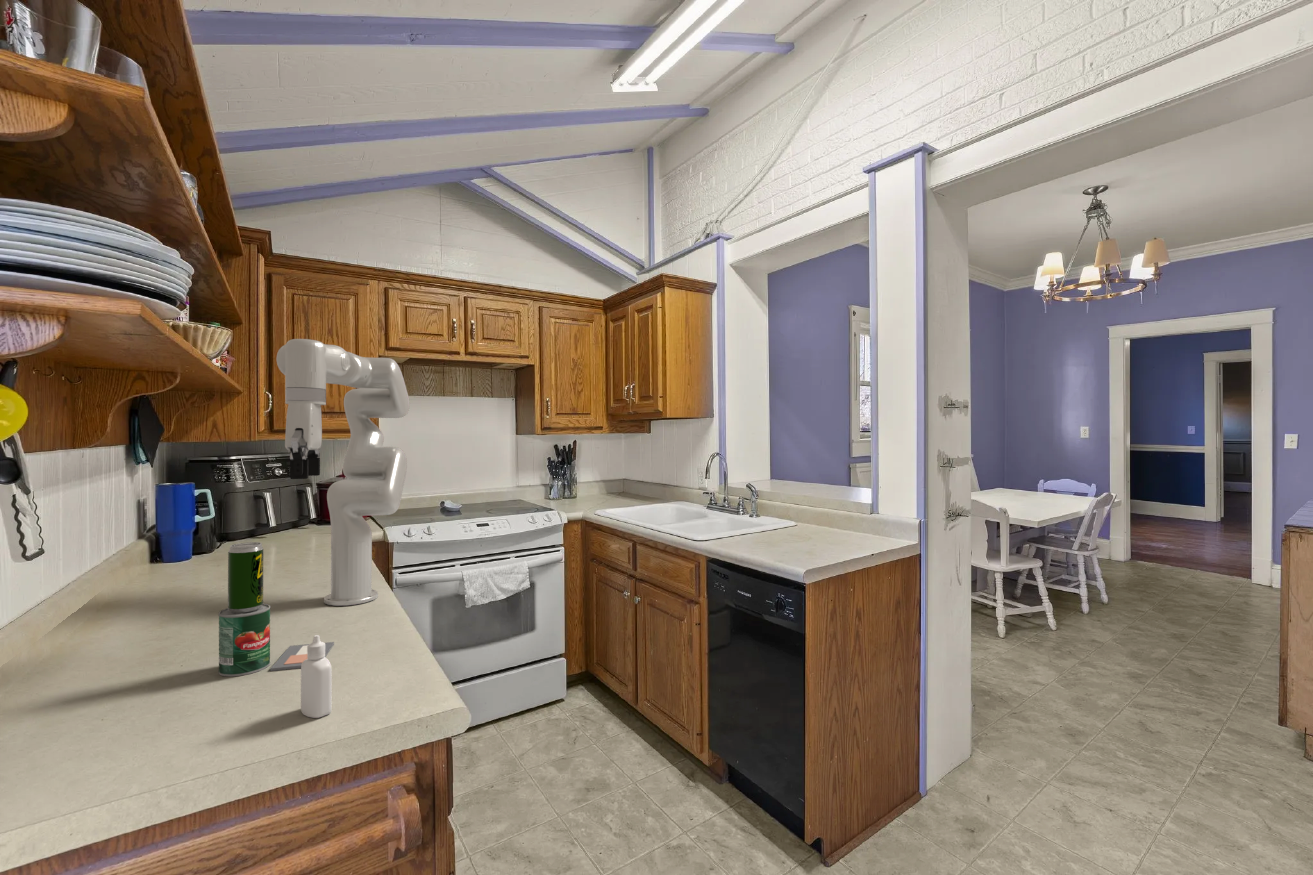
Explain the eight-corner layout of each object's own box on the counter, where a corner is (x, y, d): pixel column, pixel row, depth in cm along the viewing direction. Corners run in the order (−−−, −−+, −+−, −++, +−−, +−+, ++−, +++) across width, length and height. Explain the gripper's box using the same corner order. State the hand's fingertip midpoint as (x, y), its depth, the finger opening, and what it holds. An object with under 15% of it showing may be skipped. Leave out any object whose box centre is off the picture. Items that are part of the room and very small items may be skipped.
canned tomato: (234, 660, 112) (234, 603, 112) (278, 659, 113) (278, 602, 113) (208, 677, 104) (208, 616, 104) (255, 676, 105) (255, 615, 105)
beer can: (226, 615, 105) (227, 548, 105) (228, 607, 109) (229, 543, 109) (263, 610, 108) (263, 545, 108) (263, 603, 112) (263, 541, 112)
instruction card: (289, 648, 119) (289, 645, 119) (334, 644, 121) (334, 641, 121) (270, 671, 107) (270, 667, 107) (319, 666, 110) (319, 663, 110)
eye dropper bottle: (332, 701, 95) (333, 628, 95) (331, 716, 90) (331, 639, 90) (301, 707, 93) (301, 632, 93) (298, 722, 88) (298, 643, 88)
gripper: (297, 399, 132) (297, 474, 133) (272, 394, 116) (272, 480, 116) (334, 400, 135) (334, 474, 135) (315, 395, 118) (314, 480, 118)
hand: (305, 477), depth 125 cm, fingers open, 9 cm apart
